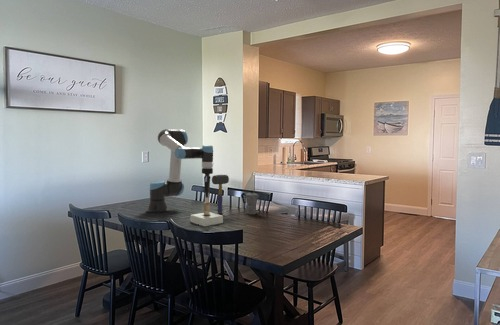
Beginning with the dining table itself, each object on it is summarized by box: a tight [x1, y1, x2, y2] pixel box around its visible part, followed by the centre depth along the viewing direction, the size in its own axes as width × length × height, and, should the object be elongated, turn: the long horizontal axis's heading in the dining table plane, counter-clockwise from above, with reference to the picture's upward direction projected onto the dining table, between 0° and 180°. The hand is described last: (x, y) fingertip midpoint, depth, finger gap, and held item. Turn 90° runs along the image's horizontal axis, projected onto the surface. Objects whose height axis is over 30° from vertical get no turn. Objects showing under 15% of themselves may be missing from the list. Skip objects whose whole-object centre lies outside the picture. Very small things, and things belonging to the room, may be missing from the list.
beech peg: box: [203, 201, 211, 216], centre depth 256 cm, size 4×4×14 cm
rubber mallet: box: [211, 174, 230, 214], centre depth 287 cm, size 12×8×30 cm, turn 129°
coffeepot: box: [240, 190, 260, 215], centre depth 289 cm, size 15×9×18 cm, turn 65°
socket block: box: [189, 211, 224, 227], centre depth 256 cm, size 16×16×5 cm
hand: (206, 201), depth 255 cm, fingers closed
